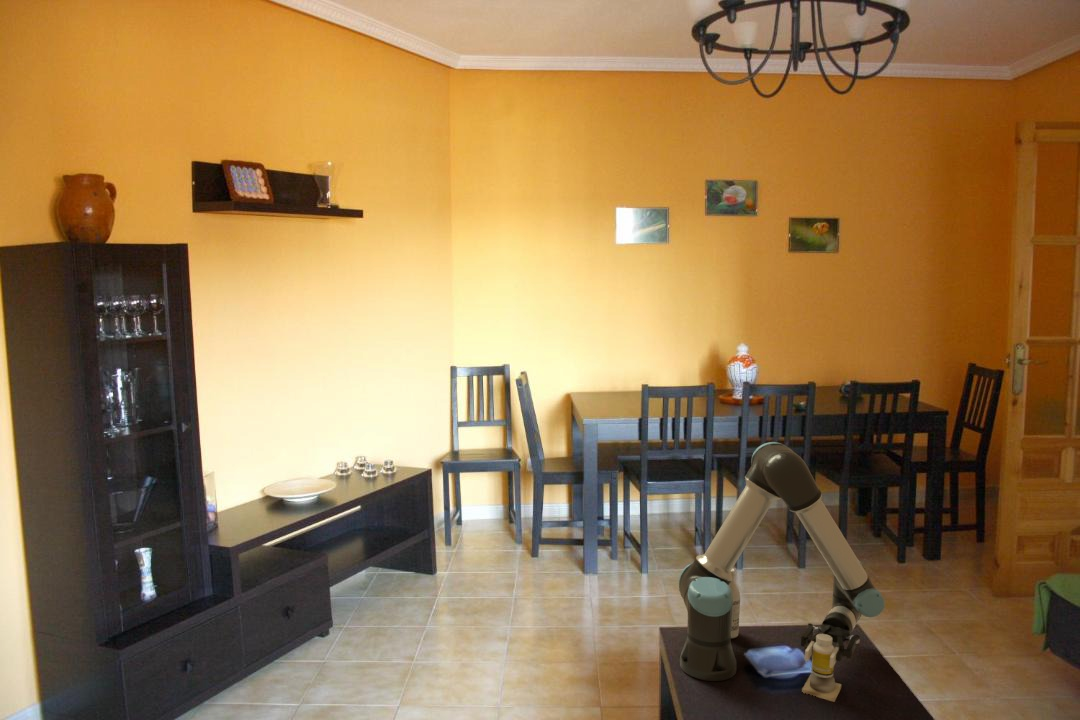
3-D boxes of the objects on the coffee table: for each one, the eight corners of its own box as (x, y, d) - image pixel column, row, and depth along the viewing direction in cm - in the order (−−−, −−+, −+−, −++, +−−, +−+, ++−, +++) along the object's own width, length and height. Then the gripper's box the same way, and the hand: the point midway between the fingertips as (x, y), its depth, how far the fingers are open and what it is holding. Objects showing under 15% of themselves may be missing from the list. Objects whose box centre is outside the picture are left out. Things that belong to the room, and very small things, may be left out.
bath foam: (738, 630, 233) (742, 566, 231) (737, 640, 226) (741, 574, 224) (715, 627, 235) (718, 564, 233) (713, 637, 228) (717, 571, 226)
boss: (802, 692, 198) (802, 679, 198) (809, 679, 205) (810, 666, 204) (834, 702, 194) (835, 688, 193) (841, 687, 200) (841, 675, 200)
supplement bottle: (835, 679, 196) (837, 642, 195) (813, 677, 197) (814, 640, 196) (831, 669, 201) (833, 633, 200) (810, 667, 202) (811, 631, 201)
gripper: (873, 646, 209) (856, 684, 189) (804, 629, 218) (781, 663, 199) (874, 619, 208) (858, 655, 188) (805, 604, 218) (782, 636, 198)
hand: (818, 659), depth 194 cm, fingers closed on supplement bottle, 5 cm apart
